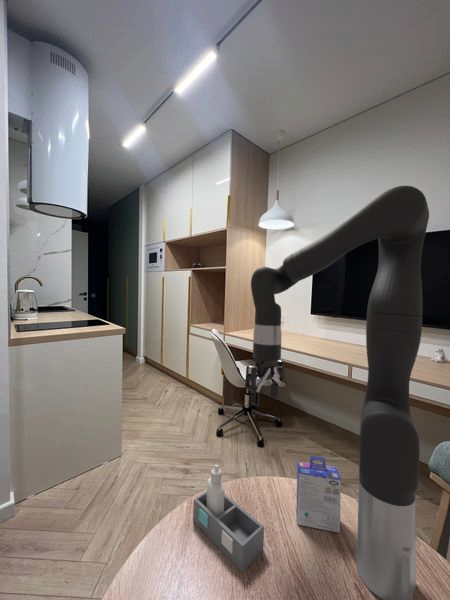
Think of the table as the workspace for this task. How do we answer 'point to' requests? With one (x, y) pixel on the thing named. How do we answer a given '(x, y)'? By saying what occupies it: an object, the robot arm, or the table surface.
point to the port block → (231, 530)
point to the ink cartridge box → (318, 495)
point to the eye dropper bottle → (215, 493)
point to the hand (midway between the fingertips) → (265, 401)
